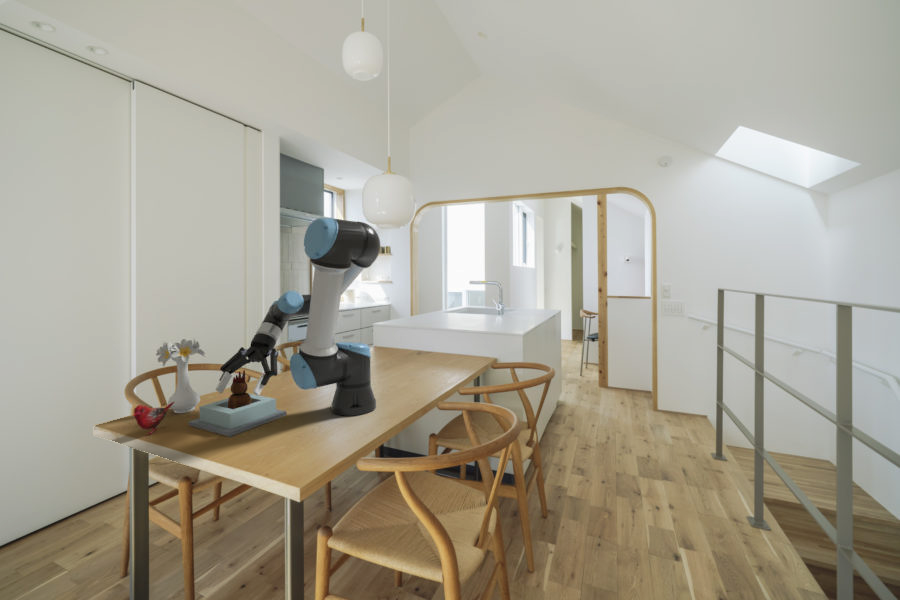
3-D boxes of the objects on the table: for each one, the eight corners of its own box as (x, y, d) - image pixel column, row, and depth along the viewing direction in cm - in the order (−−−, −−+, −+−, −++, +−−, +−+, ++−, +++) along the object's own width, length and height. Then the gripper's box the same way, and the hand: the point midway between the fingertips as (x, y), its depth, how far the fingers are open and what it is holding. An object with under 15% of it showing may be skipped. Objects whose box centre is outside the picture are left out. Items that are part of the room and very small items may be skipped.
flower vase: (182, 402, 145) (179, 334, 144) (218, 408, 139) (215, 337, 137) (144, 413, 133) (140, 340, 132) (181, 420, 126) (177, 343, 125)
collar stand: (286, 414, 131) (286, 398, 131) (229, 436, 113) (229, 417, 113) (247, 406, 140) (246, 390, 140) (188, 425, 122) (187, 407, 122)
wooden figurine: (255, 414, 128) (253, 368, 128) (240, 420, 123) (238, 373, 122) (240, 412, 131) (238, 367, 130) (224, 418, 125) (222, 371, 124)
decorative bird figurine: (129, 443, 109) (127, 408, 108) (170, 420, 127) (169, 389, 126) (140, 443, 109) (138, 408, 109) (179, 420, 127) (178, 389, 126)
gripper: (302, 345, 140) (277, 400, 126) (240, 343, 145) (210, 395, 131) (293, 333, 135) (266, 388, 121) (229, 331, 139) (196, 384, 126)
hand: (237, 392), depth 126 cm, fingers open, 13 cm apart
